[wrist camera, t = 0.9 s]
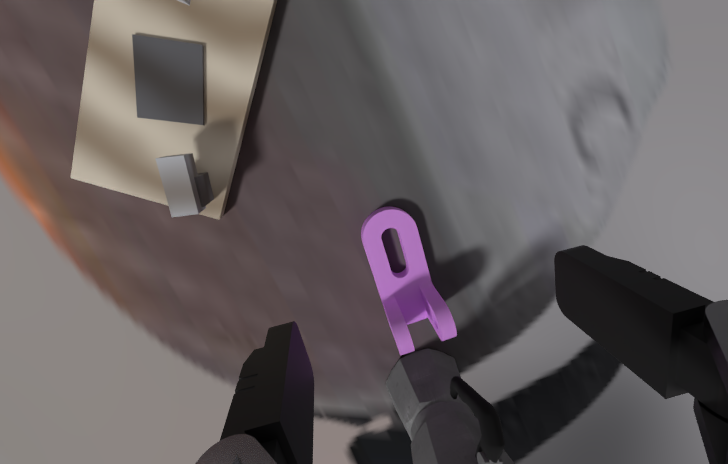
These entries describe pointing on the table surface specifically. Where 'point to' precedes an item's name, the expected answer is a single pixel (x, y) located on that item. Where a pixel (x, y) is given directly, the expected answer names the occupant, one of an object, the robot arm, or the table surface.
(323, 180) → the table surface
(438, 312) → the bracket
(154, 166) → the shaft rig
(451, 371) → the coffeepot
